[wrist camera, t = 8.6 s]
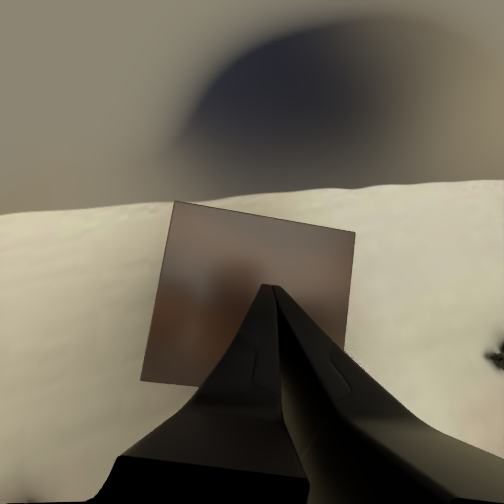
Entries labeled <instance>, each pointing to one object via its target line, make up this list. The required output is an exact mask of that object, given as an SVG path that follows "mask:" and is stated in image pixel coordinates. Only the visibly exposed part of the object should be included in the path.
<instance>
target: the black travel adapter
mask: <svg viewBox="0 0 504 504" xmlns="http://www.w3.org/2000/svg"><path fill="white" fill-rule="evenodd" d="M490 358H491V360H493V361H494V362H495V363H498V364H499V365H500V367H501V368H502V369H503V370H504V348H503V353H498V354H493V355H491V356H490Z"/></svg>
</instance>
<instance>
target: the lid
mask: <svg viewBox="0 0 504 504" xmlns="http://www.w3.org/2000/svg"><path fill="white" fill-rule="evenodd" d="M355 235H356V233H355V232H351V231H346V230H340V229H334V228H329V227H323V226H317V225H311V224H306V223H300V222H294V221H289V220H283V219H277V218H272V217H266V216H260V215H254V214H249V213H243V212H237V211H232V210H226V209H220V208H214V207H209V206H203V205H197V204H192V203H186V202H180V201H175V202H174V205H173V211H172V216H171V221H170V226H169V232H168V237H167V242H166V247H165V252H164V258H163V263H162V268H161V273H160V279H159V284H158V289H157V294H156V299H155V305H154V310H153V315H152V320H151V326H150V331H149V336H148V341H147V346H146V352H145V357H144V362H143V367H142V373H141V378H140V381H145V382H156V383H166V384H176V385H187V386H197V387H200V386H201V384H202V383H203V382H204V380H205V379H206V378H207V376H208V375H209V374H210V372H211V371H212V370H213V368H214V367H215V366H216V364H217V363H218V362H219V360H220V359H221V357H222V356H223V354H224V353H225V351H226V350H227V349H228V347H229V345H230V343H231V342H232V340H233V338H234V336H235V334H236V332H237V331H238V329H239V327H240V325H241V323H242V321H243V319H244V317H245V315H246V313H247V311H248V309H249V307H250V306H251V304H252V302H253V300H254V298H255V296H256V294H257V292H258V290H259V288H260V286H261V284H263V283H264V284H270V285H271V286H272V285H278V286H281V287H282V288H283V289H284V290H285V291H286V292H287V293H288V294H289V295H290V296H291V297H292V298H293V299H294V300H295V301H296V302H297V303H298V304H299V305H300V306H301V307H302V308H303V309H304V310H305V311H306V312H307V313H308V314H309V315H310V317H311V318H312V319H313V320H314V321H315V322H316V323H317V324H318V325H319V326H320V327H321V328H322V329H323V330H324V331H325V332H326V333H327V334H328V335H329V336H330V337H331V338H332V339H333V340H334V342H336V343H337V344H338V345H339V346H340V347H341V348H342V349H343V350H344V343H345V333H346V324H347V314H348V304H349V294H350V284H351V274H352V264H353V254H354V244H355Z"/></svg>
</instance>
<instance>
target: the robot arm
mask: <svg viewBox="0 0 504 504" xmlns="http://www.w3.org/2000/svg"><path fill="white" fill-rule="evenodd" d="M7 504H504V459H503V458H501V457H498V456H496V455H494V454H491V453H489V452H486V451H484V450H482V449H479V448H477V447H475V446H472V445H470V444H467V443H465V442H463V441H460V440H458V439H456V438H453V437H451V436H449V435H446V434H444V433H442V432H440V431H438V430H436V429H434V428H432V427H431V426H429V425H428V424H426V423H425V422H423V421H422V420H420V419H419V418H418V417H416V416H415V415H414V414H413V413H411V412H410V411H409V410H408V409H407V408H406V407H405V406H403V405H402V404H401V403H400V402H399V401H398V400H397V399H396V398H394V397H393V396H392V395H391V394H390V393H389V392H388V391H387V390H386V389H384V388H383V387H382V386H381V385H380V384H379V383H378V382H377V381H375V380H374V379H373V378H372V377H371V376H370V375H369V374H368V373H367V372H366V371H364V370H363V369H362V368H361V367H360V366H359V365H358V364H357V363H356V362H355V361H354V360H353V359H352V358H351V357H350V356H349V355H348V354H347V353H346V352H345V351H344V350H343V349H342V348H341V347H340V346H339V345H338V344H337V343H336V342H334V340H333V339H332V338H331V337H330V336H329V335H328V334H327V333H326V332H325V331H324V330H323V329H322V328H321V327H320V326H319V325H318V324H317V323H316V322H315V321H314V320H313V319H312V318H311V317H310V315H309V314H308V313H307V312H306V311H305V310H304V309H303V308H302V307H301V306H300V305H299V304H298V303H297V302H296V301H295V300H294V299H293V298H292V297H291V296H290V295H289V294H288V293H287V292H286V291H285V290H284V289H283V288H282V287H281V286H278V285H272V286H271V285H270V284H264V283H263V284H261V286H260V288H259V290H258V292H257V294H256V296H255V298H254V300H253V302H252V304H251V306H250V307H249V309H248V311H247V313H246V315H245V317H244V319H243V321H242V323H241V325H240V327H239V329H238V331H237V332H236V334H235V336H234V338H233V340H232V342H231V343H230V345H229V347H228V349H227V350H226V351H225V353H224V354H223V356H222V357H221V359H220V360H219V362H218V363H217V364H216V366H215V367H214V368H213V370H212V371H211V372H210V374H209V375H208V376H207V378H206V379H205V380H204V382H203V383H202V384H201V386H200V387H199V388H198V390H197V391H196V392H195V394H194V395H193V396H192V397H191V399H190V400H189V401H188V402H187V403H186V404H185V405H184V406H183V407H182V408H181V409H180V410H179V411H178V412H177V413H176V414H174V415H173V416H172V417H170V418H169V419H168V420H166V421H165V422H164V423H162V424H161V425H160V426H158V427H157V428H156V429H154V430H153V431H152V432H150V433H149V434H148V435H146V436H145V437H144V438H142V439H141V440H140V441H138V442H137V443H136V444H134V445H133V446H132V447H130V448H129V449H128V450H126V451H125V452H124V453H122V454H121V455H120V456H118V457H117V458H116V460H115V463H114V465H113V468H112V470H111V472H110V474H109V476H108V478H107V480H106V481H105V483H104V484H103V486H102V488H101V489H100V490H99V492H98V493H97V494H96V495H95V496H94V498H91V499H89V500H87V501H84V502H45V503H7Z"/></svg>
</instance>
